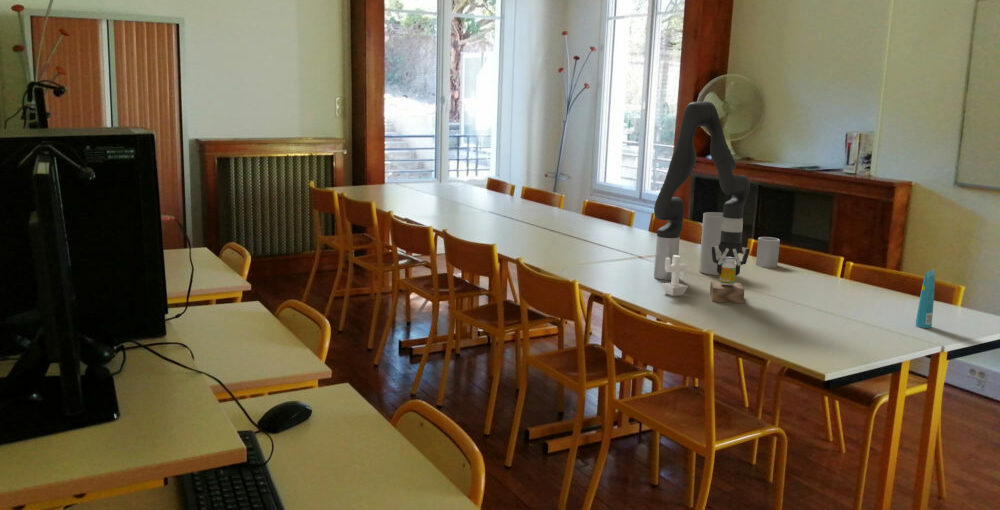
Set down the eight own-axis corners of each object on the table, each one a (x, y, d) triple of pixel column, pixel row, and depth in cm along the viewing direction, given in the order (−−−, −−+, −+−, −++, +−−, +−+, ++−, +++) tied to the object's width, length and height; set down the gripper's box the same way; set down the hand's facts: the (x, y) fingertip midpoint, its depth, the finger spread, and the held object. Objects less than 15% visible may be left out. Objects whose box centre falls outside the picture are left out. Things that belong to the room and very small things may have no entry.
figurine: (690, 295, 313) (693, 256, 310) (669, 297, 309) (672, 258, 306) (678, 291, 319) (680, 252, 316) (658, 293, 315) (660, 254, 312)
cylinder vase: (726, 270, 359) (731, 212, 354) (731, 276, 346) (736, 217, 341) (697, 268, 360) (701, 211, 355) (701, 275, 348) (705, 216, 343)
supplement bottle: (732, 286, 305) (734, 260, 303) (717, 283, 307) (719, 258, 305) (736, 283, 309) (738, 257, 307) (722, 281, 312) (724, 255, 310)
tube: (918, 322, 284) (925, 267, 280) (933, 325, 281) (941, 270, 277) (912, 327, 278) (919, 271, 274) (928, 330, 275) (935, 273, 271)
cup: (755, 266, 368) (757, 239, 366) (756, 262, 377) (759, 236, 374) (776, 268, 365) (779, 241, 363) (777, 264, 373) (780, 238, 371)
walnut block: (712, 301, 305) (713, 288, 304) (709, 294, 316) (710, 281, 315) (743, 303, 303) (744, 290, 302) (739, 296, 314) (740, 283, 313)
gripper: (712, 230, 302) (709, 275, 305) (753, 232, 300) (749, 278, 303) (710, 227, 309) (707, 271, 312) (750, 228, 307) (746, 273, 310)
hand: (728, 274), depth 308 cm, fingers closed on supplement bottle, 5 cm apart
